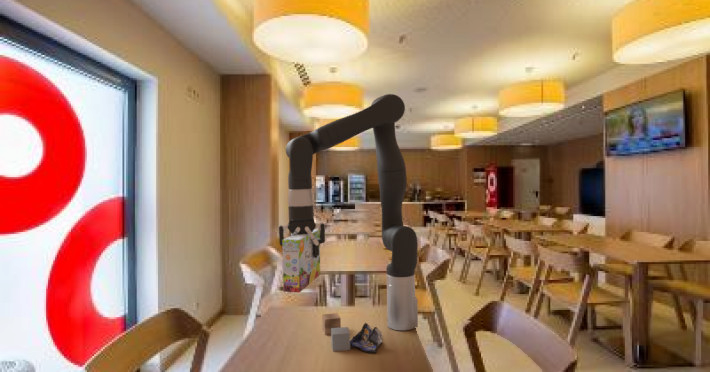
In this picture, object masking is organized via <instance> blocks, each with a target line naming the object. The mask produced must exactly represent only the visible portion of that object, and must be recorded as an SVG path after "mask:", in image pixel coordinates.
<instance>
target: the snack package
mask: <svg viewBox="0 0 710 372" xmlns="http://www.w3.org/2000/svg"><path fill="white" fill-rule="evenodd" d="M382 342H383V333H382V331H381V330H380V329H379V328H378V327H377V326H375V327H374V326H370V325H369V324H368V323H367V322H364V324H363V326H362V327H361V329H360V331H358V332H357V334H356V335H354V336H353V337H352V338H350V347H356V348H359V349H360V350H361V351H362V352H364V353H367V354H376V353H377V350H378V347H379V346H380V344H381V343H382ZM369 344H372V345H369Z"/></svg>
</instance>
